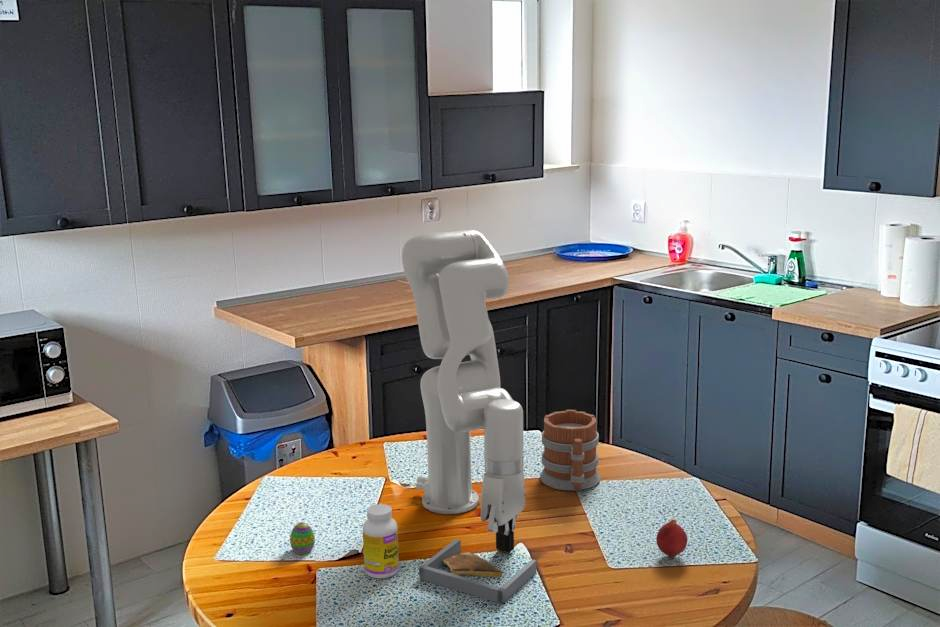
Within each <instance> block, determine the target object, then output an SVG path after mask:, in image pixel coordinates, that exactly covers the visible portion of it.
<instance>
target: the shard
mask: <svg viewBox="0 0 940 627" xmlns="http://www.w3.org/2000/svg"><path fill="white" fill-rule="evenodd" d="M443 563H444V565H446V566H447V567H448V568H449V570H450V573H452V574H455V575H459V576H473V577H474V576H475V577H494V578H495V577H497V578H498V577H502V576H503V574H504V571H502V570H500V569H499V568H498V567H495V566H494V565H492V564H491V562H488V561H487V560H485V559H484V558H482V557H481V556H479V555H478V554H476V553H473V552H471V551H470V552H459V553H458V554H457V555H454V556H452V557H449V558H446V559H444V560H443Z"/></svg>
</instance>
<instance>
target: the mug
mask: <svg viewBox="0 0 940 627" xmlns="http://www.w3.org/2000/svg"><path fill="white" fill-rule="evenodd" d="M541 432H542V433H541V443H542V445H543V451H542V453H541V465H542V466H543V467H544V468H543V469H542V471H541V473H540V474H539V480H540V481H541V482H542V483H543V484H544V485H545V486H547V487H548V488H551V489H554V490H559V491H562V492H565V491H567V492H579V491H583V490H588V489H591V488H593V487H595V486H596V485H597V484H599V482H600V481H601V475H600V473H599V471H598V469H597V467H598V466H599V459H600V458H599V453H598V452H597V446H599V443H600V442H599V439H600V438H599V437H600V436H599V432H598V431H597V418H596V416H595V415H594V414H590V413H587V412H586V411H577V409H566V410H561V411H553V412H552V413H549V414H545V416H544V419H543V431H541Z"/></svg>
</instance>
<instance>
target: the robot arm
mask: <svg viewBox="0 0 940 627" xmlns="http://www.w3.org/2000/svg"><path fill="white" fill-rule="evenodd" d="M401 253H402V254H401V255H402V256H401V261H402V267H403V272H404V275H405V278H406V281H407V282H408V284H409V288H410V290H411V292H412V295H413V299H414V303H415V311H416V318H417V323H418V332H419V339H420V344H421V348H422V351H423V353H424V354H425V356H426V357H427V358H429V359H433V360H441V363H440V365H438V366H437V365H436V366H434V367H431V368H430V369H428V370H426V371H425V372H424V373H423V375H422V376H421V378H420V385H419V386H420V393H421V398H422V402H423V407H424V415H425V425H426V426H425V427H426V447H427V448H426V449H427V450H426V452H427V474H428V475H427V476H428V477H425V476H421V475H420V476H418V477H417V479H416V483H415V485H414V486H415V489H418V490H422V491H424V494H423V495H422V499H421V502H422V506H423V507H424V508H425V509H426V510H427V511H430V512H432V513H435V514H442V515H456V514H463V513H466V512H469V511H471V510H473V509H475V508H476V507H477V506H478V505H479V504H480V520H481V522H486V521H488V524H487V531H488V532H491V533H495V548H496V550H497V551H501V552H505V553H507V554H510V553H511V552H512V551H513V550H514V549H515V530H516V525H517V524H516V521H517V517H518V516H519V515H520V514H521V512H522V511H523V510H524V509H525V506H526V484H525V474H524V410H523V407H522V405H521V404H520V402H518V401H516V400H514V399H513V398H512V396H511V395H510V394H509V392H508V390H506V389H505V388H502V387H501V376H500V367H499V360H498V356H497V355H498V354H497V346H496V341H495V340H496V339H495V334H494V329H493V325H492V324H491V321H490V318H489V314H488V310H487V309H488V308H487V305H486V300H494V299H500V298H503V297H505V295H507V293H508V290H509V286H510V278H509V275H508V274H509V273H508V271H507V268H506V265H505V264H504V262H503V260H502V258H501V256H500V255H499V254H498V252H497V251H496V250H495V249H494V247H493V246H492V244H491V243H490V242H489V240H487V238H486V237H485V236H484V234H482V233H481V232H480V231H477V230H474V229H463V230H453V231H452V230H450V231H438V232H431V233H430V232H429V233H422V234H418V235H415V236H413V237H410V238H409V239H408V240H406V242H405V243H404V245H403V247H402V252H401ZM466 356H469V357H470V360H467V361H463V359H464V358H465V357H466ZM482 429H483V438H484V439H483V440H484V442H483V445H484V446H483V447H484V448H483V449H484V474H483V478H482V484H481V492H480V495H481V496H480V495H479V494H478V493H477V492H476V490H474V489H473V488H472V487H473V485H472V453H471V452H472V451H471V449H472V448H471V447H472V446H471V444H472V443H471V432H473V431H478V430H482Z"/></svg>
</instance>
